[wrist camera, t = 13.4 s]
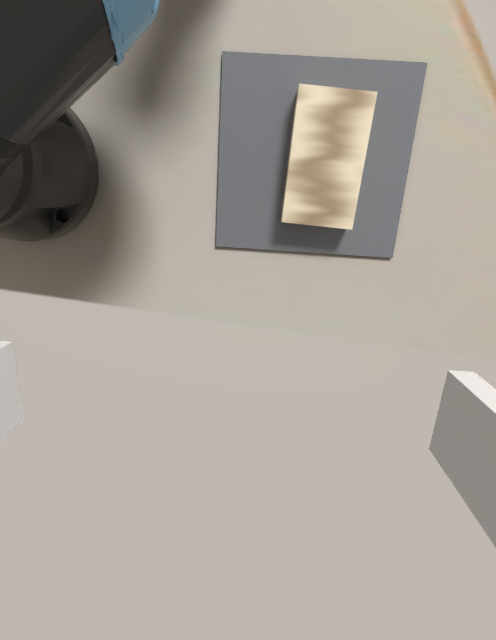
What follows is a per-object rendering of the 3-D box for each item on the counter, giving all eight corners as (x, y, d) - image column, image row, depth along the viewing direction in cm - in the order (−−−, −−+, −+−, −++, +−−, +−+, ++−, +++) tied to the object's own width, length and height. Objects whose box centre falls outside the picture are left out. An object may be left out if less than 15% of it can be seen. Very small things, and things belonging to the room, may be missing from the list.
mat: (216, 246, 40) (215, 246, 40) (222, 52, 35) (222, 51, 35) (391, 257, 40) (392, 257, 40) (425, 64, 35) (427, 62, 34)
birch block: (281, 222, 37) (299, 83, 33) (280, 220, 39) (296, 91, 35) (352, 229, 37) (377, 91, 33) (346, 228, 39) (369, 99, 35)
